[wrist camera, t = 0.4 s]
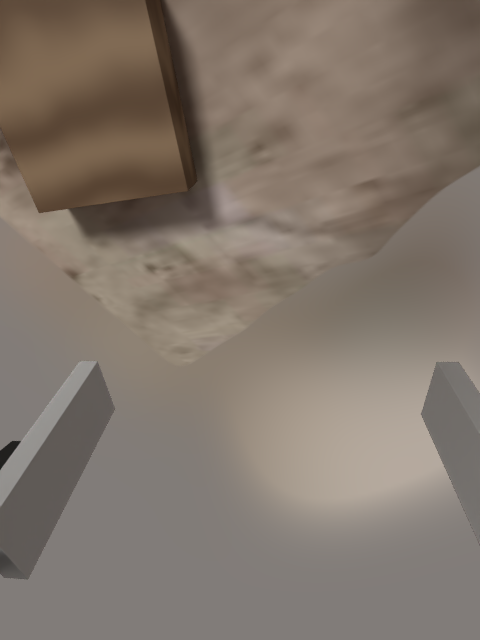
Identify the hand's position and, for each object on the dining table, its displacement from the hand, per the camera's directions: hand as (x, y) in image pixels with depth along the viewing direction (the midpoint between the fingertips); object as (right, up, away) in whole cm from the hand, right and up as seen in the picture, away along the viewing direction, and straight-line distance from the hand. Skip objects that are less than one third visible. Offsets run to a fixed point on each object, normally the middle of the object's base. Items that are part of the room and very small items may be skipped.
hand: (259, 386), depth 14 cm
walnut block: (-14, +23, +19) cm, 33 cm away
